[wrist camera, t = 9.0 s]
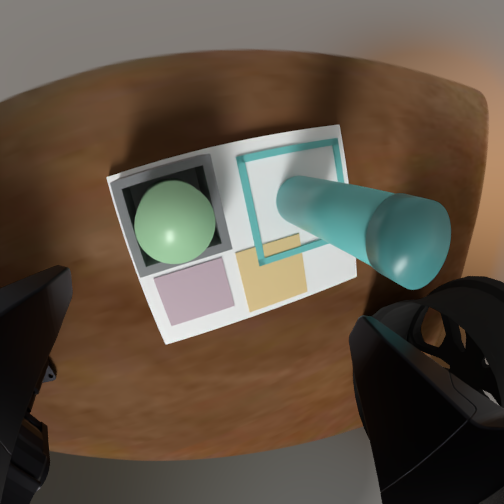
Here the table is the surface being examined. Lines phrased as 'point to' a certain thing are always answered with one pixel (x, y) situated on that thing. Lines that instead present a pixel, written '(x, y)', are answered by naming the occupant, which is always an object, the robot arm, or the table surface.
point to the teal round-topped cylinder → (371, 226)
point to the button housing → (121, 185)
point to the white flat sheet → (249, 235)
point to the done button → (174, 221)
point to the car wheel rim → (457, 331)
